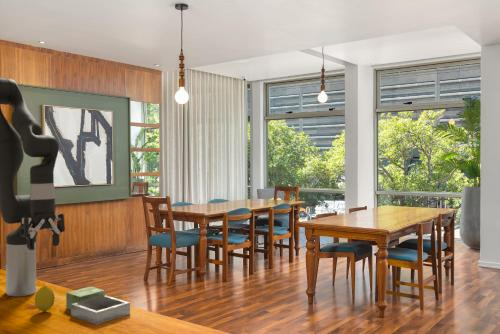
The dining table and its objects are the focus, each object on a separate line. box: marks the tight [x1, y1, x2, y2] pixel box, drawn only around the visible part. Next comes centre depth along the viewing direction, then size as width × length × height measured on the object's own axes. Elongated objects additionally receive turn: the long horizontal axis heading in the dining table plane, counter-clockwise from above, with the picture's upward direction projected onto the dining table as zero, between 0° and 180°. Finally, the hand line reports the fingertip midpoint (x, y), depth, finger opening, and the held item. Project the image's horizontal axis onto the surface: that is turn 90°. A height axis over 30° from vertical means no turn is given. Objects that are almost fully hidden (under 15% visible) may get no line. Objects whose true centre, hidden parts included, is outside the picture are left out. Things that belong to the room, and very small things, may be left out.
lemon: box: [34, 285, 56, 313], centre depth 154 cm, size 6×6×8 cm
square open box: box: [65, 286, 131, 326], centre depth 154 cm, size 19×12×5 cm, turn 53°
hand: (43, 247), depth 164 cm, fingers open, 8 cm apart
